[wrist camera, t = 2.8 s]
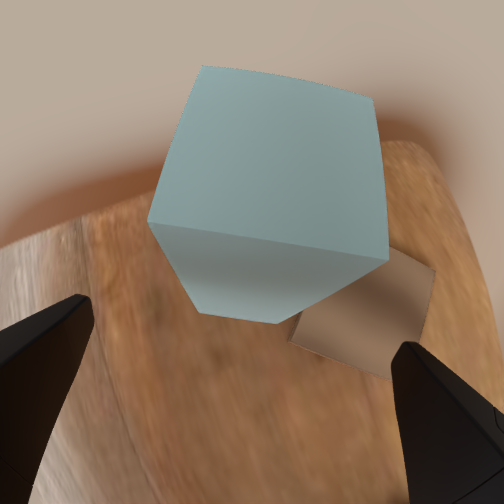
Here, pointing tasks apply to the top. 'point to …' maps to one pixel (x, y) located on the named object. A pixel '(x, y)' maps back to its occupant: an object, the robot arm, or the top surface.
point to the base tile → (369, 316)
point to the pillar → (270, 194)
